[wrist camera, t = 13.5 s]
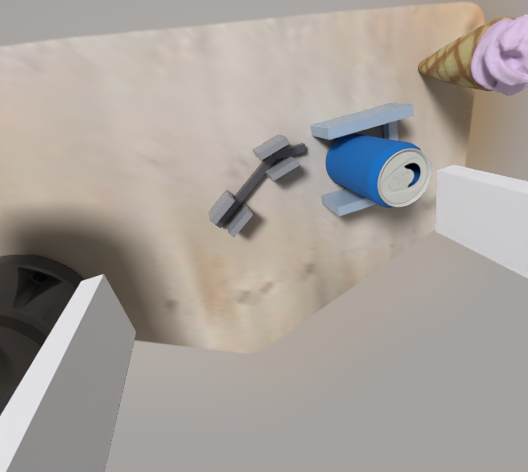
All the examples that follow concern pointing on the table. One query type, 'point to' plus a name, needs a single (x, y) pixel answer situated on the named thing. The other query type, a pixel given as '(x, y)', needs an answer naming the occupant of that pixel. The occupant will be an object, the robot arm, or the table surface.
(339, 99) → the table surface
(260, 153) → the clip
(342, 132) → the end holder
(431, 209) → the table surface
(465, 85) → the ice cream cone
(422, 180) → the beverage can
